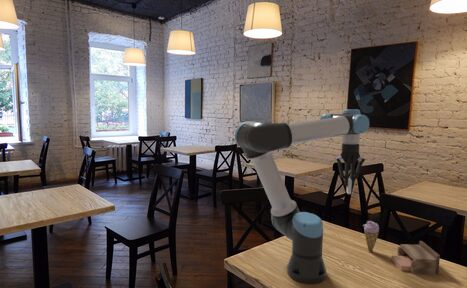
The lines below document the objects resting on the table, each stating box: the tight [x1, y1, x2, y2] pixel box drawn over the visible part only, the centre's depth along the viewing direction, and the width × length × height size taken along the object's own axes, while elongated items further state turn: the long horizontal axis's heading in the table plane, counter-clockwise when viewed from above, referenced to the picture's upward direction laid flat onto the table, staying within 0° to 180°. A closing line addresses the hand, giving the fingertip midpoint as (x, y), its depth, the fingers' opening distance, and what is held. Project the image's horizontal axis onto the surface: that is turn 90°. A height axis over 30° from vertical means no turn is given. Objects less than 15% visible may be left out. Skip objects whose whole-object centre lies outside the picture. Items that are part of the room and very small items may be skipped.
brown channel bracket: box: [396, 240, 441, 276], centre depth 128 cm, size 10×13×8 cm
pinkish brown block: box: [390, 255, 413, 272], centre depth 128 cm, size 12×9×2 cm
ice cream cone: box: [362, 220, 380, 253], centre depth 141 cm, size 7×6×15 cm
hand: (348, 193), depth 143 cm, fingers closed
